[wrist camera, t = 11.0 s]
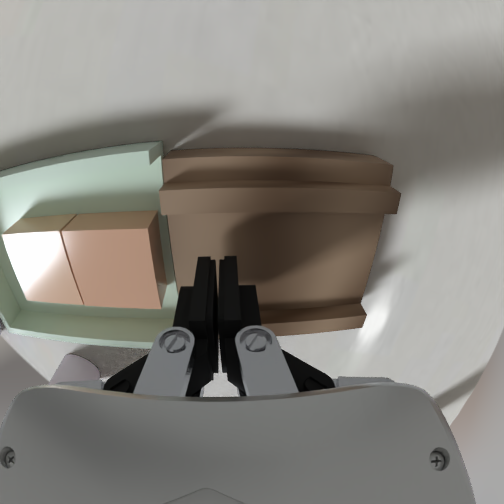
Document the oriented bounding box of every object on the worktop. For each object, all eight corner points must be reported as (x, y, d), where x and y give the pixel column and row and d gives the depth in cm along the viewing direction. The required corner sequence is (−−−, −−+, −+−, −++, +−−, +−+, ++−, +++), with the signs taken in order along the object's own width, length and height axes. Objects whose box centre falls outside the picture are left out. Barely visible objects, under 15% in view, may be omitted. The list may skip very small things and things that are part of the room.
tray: (162, 140, 12) (148, 150, 10) (184, 320, 17) (180, 349, 15) (-25, 179, 11) (-49, 193, 8) (22, 311, 16) (8, 332, 14)
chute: (373, 155, 13) (405, 171, 10) (342, 306, 18) (357, 339, 15) (171, 150, 12) (156, 165, 10) (189, 314, 17) (185, 350, 15)
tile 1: (157, 210, 13) (147, 228, 11) (167, 285, 15) (161, 309, 14) (78, 213, 13) (61, 231, 11) (96, 283, 15) (85, 305, 13)
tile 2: (76, 213, 13) (59, 230, 11) (95, 283, 15) (83, 305, 13) (19, 218, 12) (1, 234, 10) (40, 281, 14) (27, 300, 13)
